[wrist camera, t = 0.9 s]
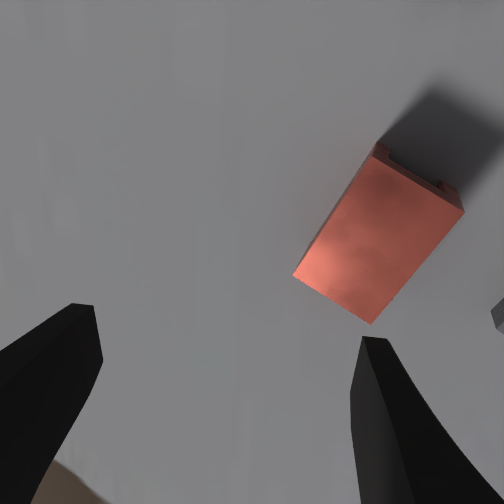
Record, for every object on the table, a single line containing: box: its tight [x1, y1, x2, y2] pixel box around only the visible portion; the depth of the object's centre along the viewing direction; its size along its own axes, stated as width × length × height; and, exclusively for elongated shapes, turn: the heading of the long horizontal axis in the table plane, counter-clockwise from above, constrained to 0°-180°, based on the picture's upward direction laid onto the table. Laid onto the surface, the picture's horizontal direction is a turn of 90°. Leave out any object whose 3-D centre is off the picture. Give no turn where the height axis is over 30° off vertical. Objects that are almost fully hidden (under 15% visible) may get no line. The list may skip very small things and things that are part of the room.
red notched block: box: [293, 142, 465, 325], centre depth 22 cm, size 5×7×4 cm, turn 153°
